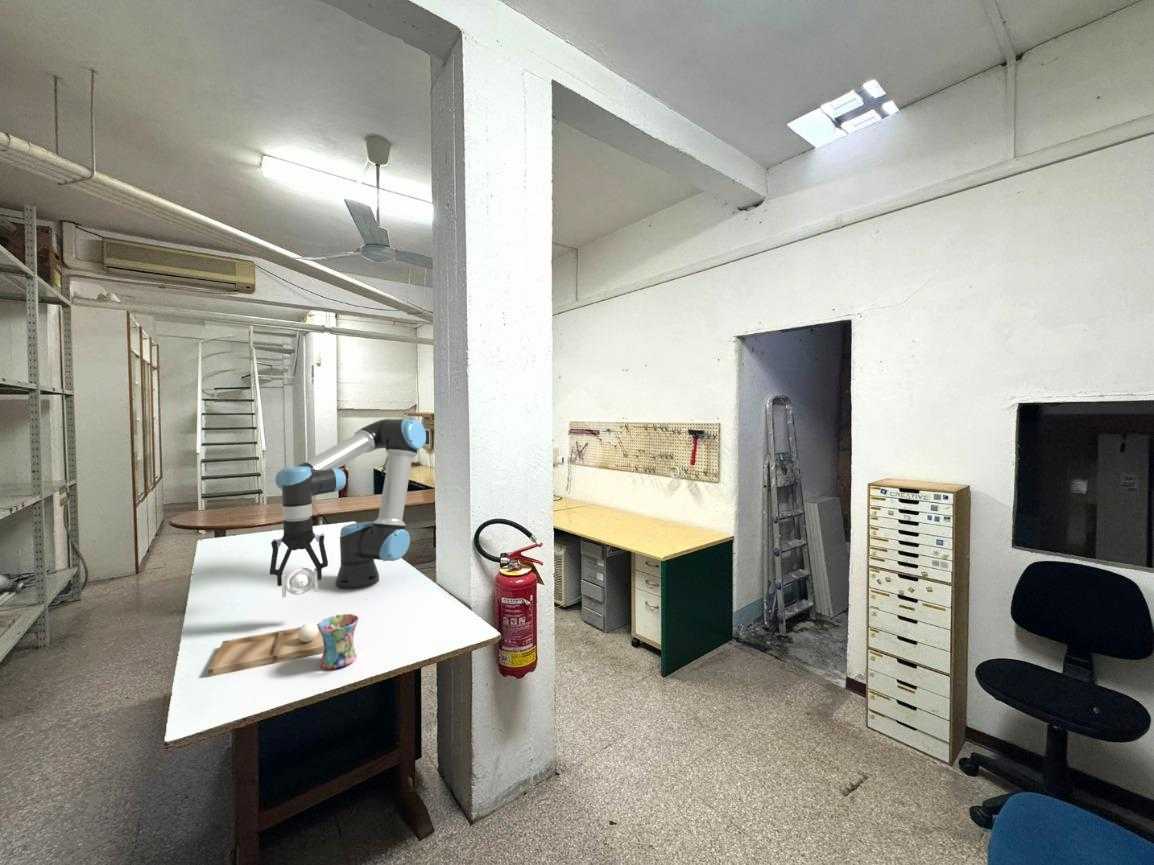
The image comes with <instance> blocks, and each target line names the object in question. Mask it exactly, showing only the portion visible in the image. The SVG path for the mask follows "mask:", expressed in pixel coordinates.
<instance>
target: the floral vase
mask: <svg viewBox="0 0 1154 865" xmlns="http://www.w3.org/2000/svg"><path fill="white" fill-rule="evenodd" d="M358 622H359V617H358V615H356V614H352V613H351V614H350V613H342V614H335V615H332V616H330V617H326V618H324V619H322V620H321V621H320V622H318V623H317V624H318V629H319V631H320V633H321V635H322V638H323V642H324V652H323V654H322V657H321V659H320V661H319V665H320V666H321V667H322V668H323V669H329V670H331V669H333V670H335V669H339V668H342V667H346V666H348V665H351V664H352V663H353V662H354V661H355V660H356V659H357V657H358V653H357V651H356V649H355V646H354V645H355V644H354V637H355V636H354V635H355V630H356V627H357V624H358Z"/></svg>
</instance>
